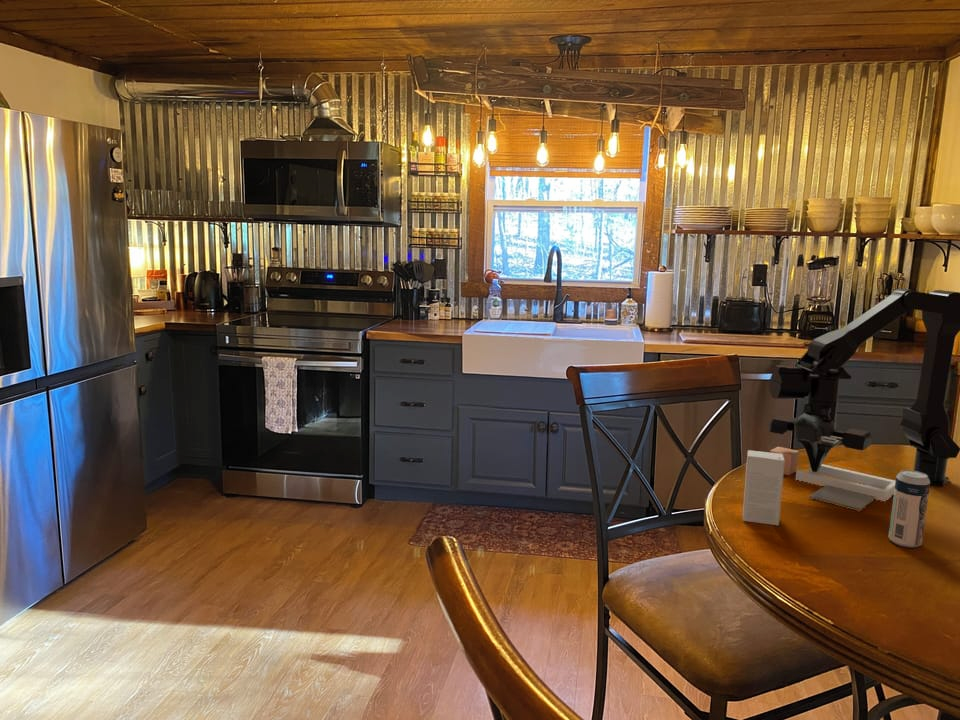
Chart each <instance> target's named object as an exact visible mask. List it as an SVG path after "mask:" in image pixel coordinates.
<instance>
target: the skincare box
mask: <svg viewBox="0 0 960 720" xmlns="http://www.w3.org/2000/svg"><path fill="white" fill-rule="evenodd" d="M746 453H747V454H746V456H747V457H746V466H745V467H746V468H745V480H744V482H745V483H744V492H743V494H744V495H743V507H742V520H743V522H749V523H757V524H763V525H770V526H779V525H780V518H781V517H780V516H781V508H782V507H781V506H782V505H781V504H782V496H783V495H782V494H783V484H784V475H785V474H784V464H785V460H784V457H783V454H779V453H770V451H769V452H768V451H767V452H766V451H758V450H750V449H748V450H747V452H746Z"/></svg>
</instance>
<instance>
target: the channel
mask: <svg viewBox="0 0 960 720" xmlns="http://www.w3.org/2000/svg"><path fill="white" fill-rule="evenodd" d="M795 473H796V474H795V481H797V480H799V481H798V482H801V481H804V482H803V483H805V482H809V483H814V484H818V485H823V486H825V485H829V486H833V487H837V488H841V489H845V490H850V491H854V492H858V493H862V494H866V495H870V496H874V497H875V499H878V500H882V501H886V500H887V501H888V500H889V499H890V498H892V495H893V496H894V490H895V482H896V479H890V478H885V477H881V476H877V475H872V474H868V473H863V472H859V471H856V470H855V471H854V470H849V469H845V468H842V467H836V466H832V465H828V464H824V463H822V465H821V466H820V468H819V470H818V471H817V472H813V471H812V469H811V465H810V462H809V463H808V470H804V469H797V471H796V472H795ZM821 474H822V475H821ZM825 475H827V476H825ZM829 476H832V477H829ZM834 477H835V478H834ZM838 478H839V479H838ZM842 479H843V480H842ZM846 480H848V481H846ZM851 481H852V482H851ZM855 482H856V483H855ZM809 483H808V484H809ZM859 483H861V484H859ZM863 484H865V485H863ZM878 500H877V501H878ZM882 501H881V502H882ZM887 501H886V502H887Z"/></svg>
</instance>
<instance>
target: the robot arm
mask: <svg viewBox="0 0 960 720" xmlns="http://www.w3.org/2000/svg"><path fill="white" fill-rule="evenodd" d="M911 310H917V311H921V315H922V317H921V318H922V319H921V320H922V321H923V325H924V329H925V331H926V340H925V346H924V352H923V359H922V365H921V371H920V376H919V383H918V390H917V396H916V400H915V402H914V403H913V404H912V405H911V407H910V408H909V407H903V410H902V419H901V422H900V424H899V426H901V427H902V433H903V434H904V436H905V437H906V439H907V440H908V445H909V446H910V447H913V448H915V455H914V464H913V470H912V471H918V472H921V473H924V474H926V475H927V476H928V478H929V480H930V485H933V486H937V487H944V486H945V485H946V484H947V483H948V482H949V481H950V477H949V476H946V474H947V473H946V472H947V466H948V460H949V459H956V458H957V456H958V455H959V453H960V446H959V445H958V444H957V443H956V442H955V441H954V439H952V437H951V436H950V419H949V417H948V414H947V410H946V408H945V402H946V395H947V394H946V393H947V388H948V382H949V376H950V370H951V366H952V365H951V364H952V358H953V353H954V347H955V340H956V336H957V335H958V334H959V333H960V292H959V291H952V290H944V289H943V290H942V289H936V290H935V289H934V290H932V291H930V292H929V293H928V292H921V291H916V290H914V289H909V288H897V289H895V290H894V291H892V292H891V294H890V295H888V296H887V297H885V298H884V299H883V300H881V301H880V302H877V304H875V305H874V306H873V307H871V308H870V309H868V310H867V311H866V312H864V313H862V314H860V315H859V316H857V318H855V319H854V320H852V321H851V322H849V323H848V324H847V325H845V326H843V327H841V328H838V329H835V330H832V331H829V332H826V333H824V334H822V335H820V336H818V337H815V338H814V339H812V340H811V342H810V343H808V345H807V347H808V348H807V350H806V351H805V353H804V354H803V355H802V356H801V357H800V358H799V360H798V361H797V362H796V363H795V364H794V366H786V365H778V364H777V365H775V369H774V371H773V372H772V374H771V376H770V378H769V380H768V390H769V394H770V396H771V397H772V399H774V400H776V399H780V400H783V399H785V400H788V399H789V400H803V399H804V398H805V397H807V398H806V403H804V407H803V411H802V413H801V415H799V416H798V418H796V417H792V416H791V417H790V416H787V415H779V416H777V417H775V418H773V419H771V420H770V422H769V426H768V432H770V433H773V434H779V435H784V434H786V433H787V432H788V431H791V432H794V437H795V441H797V442H800V443H801V444H802V446H803V447H804V449H805V452H806V455H807V458H808V461H809V463H810V465H811V469H812V471H813V472H817V471H818V470H819V468H820V466H821V465H822V464H824V462H825V459H826V457H827V456H828V454H829V453H830V451H831V450H832V449H833V448H835V447H836V446H838V445H839V444H841V443H842V445H843V446H844V447H845V448H847V449H852V450H857V451H864V450H867V448H869V447H870V446H872V439H873V437H872V436H873V435H872V434H871V433H870V431H867V430H862V429H858V428H857V429H856V428H849V429H848V430H846V431H841V430H835V429H836V428H837V425H838V423H837V422H836V421H837V420H836V419H837V411H838V409H839V405H840V404H839V402H838V401H839V394H840V393H839V392H840V384H841V383H840V382H841V380H851V379H852V375H851V374H849V372H847V370H846V369H845V367H843V366H844V365H845V364H846V363H847V362H849V361H850V360H851V358H852V357H854V356H855V354H856V352H857V351H858V350H859V349H858V348H859V347H860V346H861V345H863V343H864V342H866V341H868V340H869V339H871V338H872V337H873V336H875V335H876V334H878V333H879V332H881V331H882V330H884V329H885V328H887V326H890V325H891V324H892V323H894V322H896V320H898V319H900V318H901V317H902V316H904V315H905V314H908V312H910V311H911Z"/></svg>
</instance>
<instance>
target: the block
mask: <svg viewBox="0 0 960 720" xmlns="http://www.w3.org/2000/svg"><path fill="white" fill-rule="evenodd" d="M769 453H779V454H783V457H784V460H785V464H784V474H783V475H786V476H790V475H792V474H794V473H796V471H797V470H798V464H799V453H800V451H799V450H796V449H791V448H786V447H782V446H776V447H774V448H772V449H770V450H769Z"/></svg>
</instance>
